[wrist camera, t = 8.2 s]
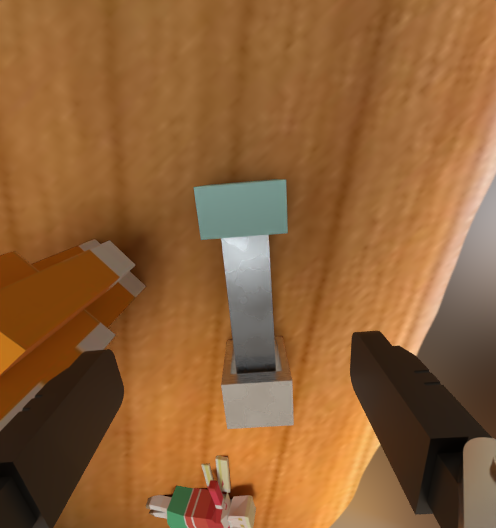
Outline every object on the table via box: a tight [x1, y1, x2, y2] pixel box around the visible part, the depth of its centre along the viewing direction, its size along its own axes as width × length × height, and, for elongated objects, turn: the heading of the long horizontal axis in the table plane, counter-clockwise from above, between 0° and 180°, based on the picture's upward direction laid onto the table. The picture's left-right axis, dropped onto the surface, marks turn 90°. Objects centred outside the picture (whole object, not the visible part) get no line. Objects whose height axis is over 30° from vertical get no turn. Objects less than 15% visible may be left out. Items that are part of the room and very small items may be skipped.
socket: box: [194, 179, 288, 240], centre depth 20 cm, size 4×6×6 cm, turn 95°
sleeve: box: [221, 336, 294, 429], centre depth 26 cm, size 5×6×6 cm
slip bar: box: [221, 235, 276, 374], centre depth 23 cm, size 16×4×4 cm, turn 5°
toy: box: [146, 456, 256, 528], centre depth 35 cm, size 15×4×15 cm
